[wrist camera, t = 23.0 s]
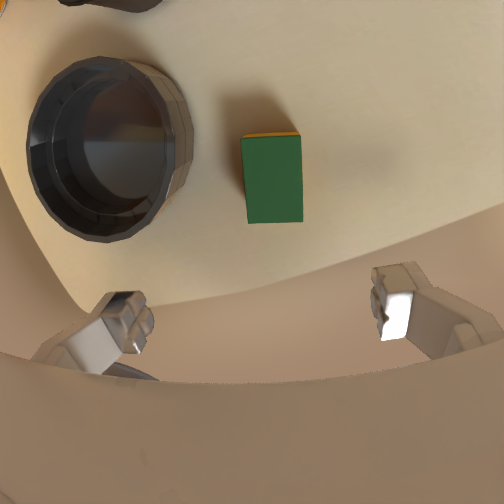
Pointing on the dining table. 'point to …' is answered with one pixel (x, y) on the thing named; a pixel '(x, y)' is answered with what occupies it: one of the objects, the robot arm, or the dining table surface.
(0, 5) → the beer can
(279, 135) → the sponge
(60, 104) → the bowl
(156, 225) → the dining table surface
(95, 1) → the coffee cup
